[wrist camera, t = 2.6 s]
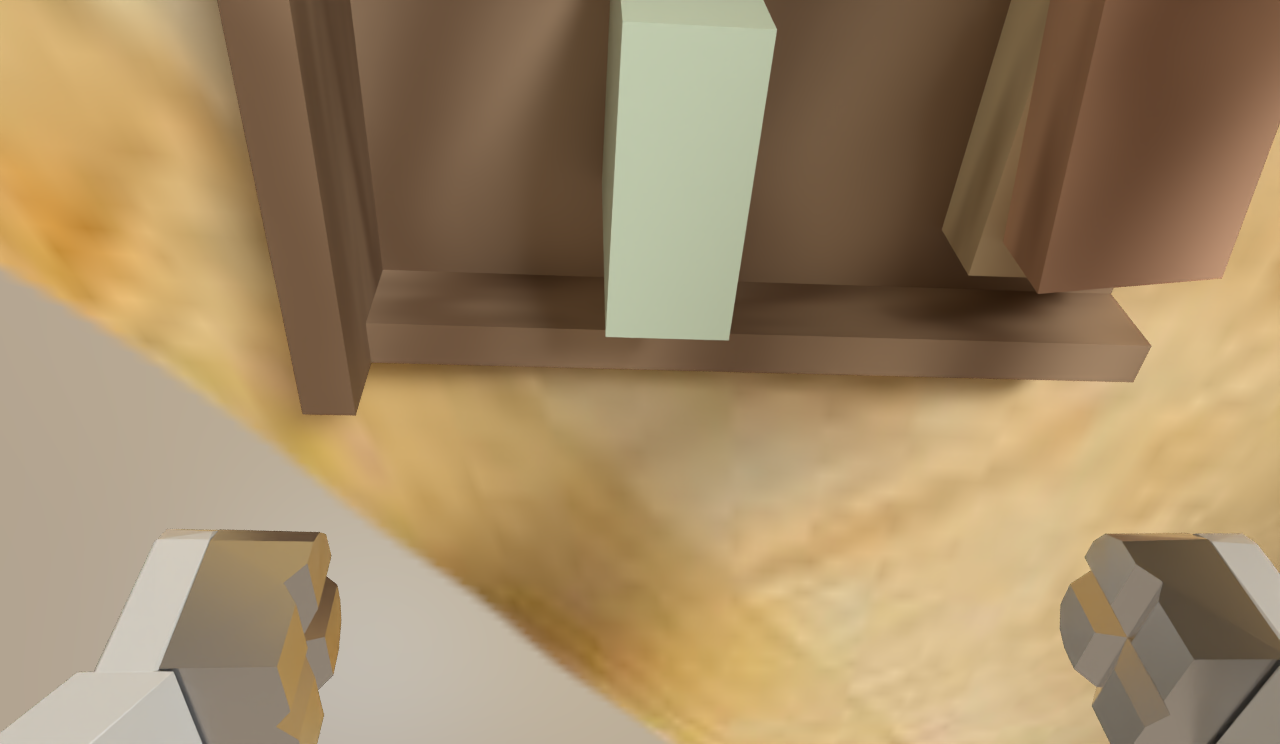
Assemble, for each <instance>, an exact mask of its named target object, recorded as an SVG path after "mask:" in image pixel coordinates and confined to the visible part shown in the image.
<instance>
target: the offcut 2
mask: <svg viewBox="0 0 1280 744" xmlns="http://www.w3.org/2000/svg"><path fill="white" fill-rule="evenodd" d="M1279 124H1280V0H1050V3H1049V8H1048V13H1047V18H1046V24H1045V29H1044V34H1043V39H1042V44H1041V49H1040V54H1039V60H1038V65H1037V70H1036V75H1035V80H1034V85H1033V91H1032V96H1031V101H1030V106H1029V111H1028V116H1027V121H1026V127H1025V132H1024V137H1023V142H1022V147H1021V152H1020V157H1019V163H1018V168H1017V173H1016V178H1015V183H1014V188H1013V193H1012V199H1011V204H1010V209H1009V214H1008V219H1007V224H1006V229H1005V235H1004V240H1003V243H1004V244H1005V246H1006V247H1007V249H1008V250H1009V252H1010V253H1011V255H1012V256H1013V258H1014V259H1015V261H1016V262H1017V264H1018V265H1019V267H1020V268H1021V270H1022V271H1023V273H1024V274H1025V276H1026V277H1027V279H1028V280H1029V282H1030V283H1031V285H1032V286H1033V288H1034V289H1035V291H1036V292H1037V293H1038V294H1044V293H1055V292H1067V291H1079V290H1091V289H1103V288H1115V287H1126V286H1138V285H1150V284H1162V283H1174V282H1186V281H1197V280H1209V279H1221V278H1222V277H1223V274H1224V272H1225V269H1226V266H1227V264H1228V261H1229V258H1230V255H1231V253H1232V250H1233V247H1234V245H1235V242H1236V239H1237V237H1238V234H1239V231H1240V229H1241V226H1242V223H1243V221H1244V218H1245V215H1246V213H1247V210H1248V207H1249V204H1250V202H1251V199H1252V196H1253V194H1254V191H1255V188H1256V186H1257V183H1258V180H1259V178H1260V175H1261V172H1262V170H1263V167H1264V164H1265V162H1266V159H1267V156H1268V154H1269V151H1270V148H1271V145H1272V143H1273V140H1274V137H1275V135H1276V132H1277V129H1278V127H1279Z"/></svg>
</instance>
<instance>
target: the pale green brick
mask: <svg viewBox="0 0 1280 744" xmlns="http://www.w3.org/2000/svg"><path fill="white" fill-rule="evenodd" d="M776 33H777V29H776V26H775V24H774V22H773V20H772V18H771V16H770V13H769V11H768V9H767V7H766V5H765V3H764V1H763V0H610V13H609V35H608V57H607V79H606V101H605V123H604V145H603V167H602V208H603V251H604V294H605V337H625V338H660V339H695V340H729V335H730V329H731V323H732V316H733V310H734V303H735V297H736V290H737V284H738V278H739V271H740V265H741V258H742V252H743V245H744V239H745V233H746V226H747V220H748V213H749V207H750V200H751V194H752V188H753V181H754V175H755V168H756V162H757V155H758V149H759V142H760V136H761V130H762V123H763V117H764V110H765V104H766V97H767V91H768V85H769V78H770V72H771V65H772V59H773V52H774V46H775V40H776Z"/></svg>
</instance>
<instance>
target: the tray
mask: <svg viewBox="0 0 1280 744" xmlns="http://www.w3.org/2000/svg"><path fill="white" fill-rule="evenodd" d="M217 1H218V6H219V11H220V16H221V21H222V26H223V30H224V35H225V40H226V45H227V50H228V55H229V59H230V64H231V69H232V74H233V79H234V84H235V89H236V93H237V98H238V103H239V108H240V113H241V118H242V122H243V127H244V132H245V137H246V142H247V147H248V152H249V156H250V161H251V166H252V171H253V176H254V181H255V185H256V190H257V195H258V200H259V205H260V210H261V214H262V219H263V224H264V229H265V234H266V239H267V244H268V248H269V253H270V258H271V263H272V268H273V273H274V277H275V282H276V287H277V292H278V297H279V302H280V307H281V311H282V316H283V321H284V326H285V331H286V336H287V340H288V345H289V350H290V355H291V360H292V365H293V369H294V374H295V379H296V384H297V389H298V394H299V399H300V403H301V408H302V413H303V414H317V415H356V412H357V409H358V406H359V402H360V399H361V396H362V392H363V389H364V385H365V382H366V379H367V375H368V372H369V368H370V365H371V362H372V363H410V364H449V365H488V366H526V367H565V368H603V369H642V370H680V371H719V372H758V373H796V374H835V375H873V376H912V377H950V378H989V379H1027V380H1066V381H1105V382H1134V380H1135V378H1136V376H1137V374H1138V372H1139V370H1140V368H1141V366H1142V364H1143V362H1144V360H1145V358H1146V356H1147V354H1148V352H1149V350H1150V348H1151V345H1150V343H1149V342H1148V341H1147V340H1146V338H1145V337H1144V336H1143V334H1142V333H1141V332H1140V331H1139V329H1138V328H1137V327H1136V325H1135V324H1134V323H1133V322H1132V320H1131V319H1130V318H1129V317H1128V315H1127V314H1126V313H1125V311H1124V310H1123V309H1122V308H1121V306H1120V305H1119V304H1118V302H1117V301H1116V300H1115V299H1114V297H1113V296H1112V295H1111V292H1112V290H1113V288H1103V289H1091V290H1079V291H1067V292H1055V293H1044V294H1038V293H1037V292H1036V291H1035V289H1034V288H1033V286H1032V285H1031V283H1030V282H1029V280H1028V279H1027V277H997V276H968V274H967V272H966V270H965V269H964V267H963V265H962V264H961V262H960V260H959V258H958V257H957V255H956V253H955V252H954V250H953V248H952V247H951V245H950V243H949V241H948V240H947V238H946V236H945V235H944V233H943V231H942V227H943V224H944V221H945V217H946V214H947V211H948V208H949V204H950V201H951V198H952V194H953V191H954V188H955V184H956V181H957V178H958V174H959V171H960V168H961V165H962V161H963V158H964V155H965V151H966V148H967V145H968V141H969V138H970V135H971V132H972V128H973V125H974V122H975V118H976V115H977V112H978V108H979V105H980V102H981V99H982V95H983V92H984V89H985V85H986V82H987V79H988V75H989V72H990V69H991V65H992V62H993V59H994V56H995V52H996V49H997V46H998V42H999V39H1000V36H1001V32H1002V29H1003V26H1004V23H1005V19H1006V16H1007V13H1008V9H1009V6H1010V3H1011V0H763V1H764V3H765V5H766V7H767V9H768V11H769V13H770V16H771V18H772V20H773V22H774V24H775V26H776V29H777V33H776V40H775V46H774V52H773V59H772V65H771V72H770V78H769V85H768V91H767V97H766V104H765V110H764V117H763V123H762V130H761V136H760V142H759V149H758V155H757V162H756V168H755V175H754V181H753V188H752V194H751V200H750V207H749V213H748V220H747V226H746V233H745V239H744V245H743V252H742V258H741V265H740V271H739V278H738V284H737V290H736V297H735V303H734V310H733V316H732V323H731V329H730V335H729V340H695V339H660V338H625V337H605V294H604V251H603V208H602V167H603V145H604V123H605V101H606V79H607V57H608V35H609V13H610V0H217Z"/></svg>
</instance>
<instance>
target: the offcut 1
mask: <svg viewBox="0 0 1280 744" xmlns="http://www.w3.org/2000/svg"><path fill="white" fill-rule="evenodd" d="M1049 3H1050V0H1011V3H1010V6H1009V9H1008V13H1007V16H1006V19H1005V23H1004V26H1003V29H1002V32H1001V36H1000V39H999V42H998V46H997V49H996V52H995V56H994V59H993V62H992V65H991V69H990V72H989V75H988V79H987V82H986V85H985V89H984V92H983V95H982V99H981V102H980V105H979V108H978V112H977V115H976V118H975V122H974V125H973V128H972V132H971V135H970V138H969V141H968V145H967V148H966V151H965V155H964V158H963V161H962V165H961V168H960V171H959V174H958V178H957V181H956V184H955V188H954V191H953V194H952V198H951V201H950V204H949V208H948V211H947V214H946V217H945V221H944V224H943V227H942V231H943V233H944V235H945V236H946V238H947V240H948V241H949V243H950V245H951V247H952V248H953V250H954V252H955V253H956V255H957V257H958V258H959V260H960V262H961V264H962V265H963V267H964V269H965V270H966V272H967V274H968V276H997V277H1026V276H1025V274H1024V273H1023V271H1022V270H1021V268H1020V267H1019V265H1018V264H1017V262H1016V261H1015V259H1014V258H1013V256H1012V255H1011V253H1010V252H1009V250H1008V249H1007V247H1006V246H1005V244H1004V243H1003V240H1004V235H1005V229H1006V224H1007V219H1008V214H1009V209H1010V204H1011V199H1012V193H1013V188H1014V183H1015V178H1016V173H1017V168H1018V163H1019V157H1020V152H1021V147H1022V142H1023V137H1024V132H1025V127H1026V121H1027V116H1028V111H1029V106H1030V101H1031V96H1032V91H1033V85H1034V80H1035V75H1036V70H1037V65H1038V60H1039V54H1040V49H1041V44H1042V39H1043V34H1044V29H1045V24H1046V18H1047V13H1048V8H1049Z"/></svg>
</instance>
